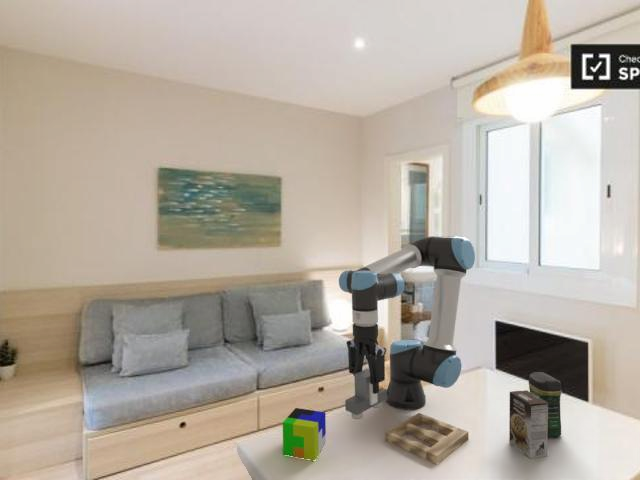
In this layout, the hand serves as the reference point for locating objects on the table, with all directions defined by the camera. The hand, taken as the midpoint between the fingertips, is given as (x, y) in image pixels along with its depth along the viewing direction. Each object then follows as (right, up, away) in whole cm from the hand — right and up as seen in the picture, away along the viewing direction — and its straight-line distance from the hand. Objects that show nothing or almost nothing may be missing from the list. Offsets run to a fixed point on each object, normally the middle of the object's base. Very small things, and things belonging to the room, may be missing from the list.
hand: (366, 400), depth 119 cm
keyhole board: (+20, -15, +7) cm, 26 cm away
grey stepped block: (0, -3, 0) cm, 3 cm away
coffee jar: (+59, -15, +11) cm, 62 cm away
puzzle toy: (-19, -16, +2) cm, 25 cm away
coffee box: (+49, -15, +1) cm, 51 cm away
